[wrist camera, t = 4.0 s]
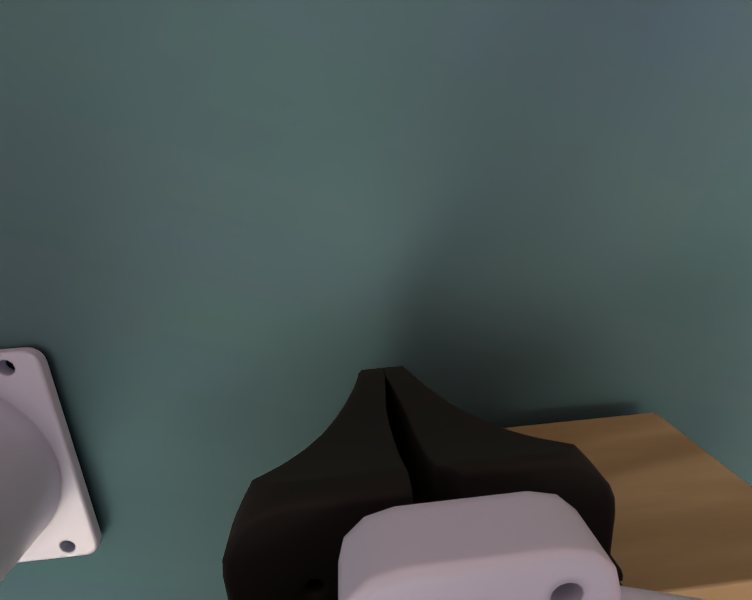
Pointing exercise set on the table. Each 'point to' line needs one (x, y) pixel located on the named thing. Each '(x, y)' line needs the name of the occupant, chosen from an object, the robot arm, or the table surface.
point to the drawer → (667, 506)
